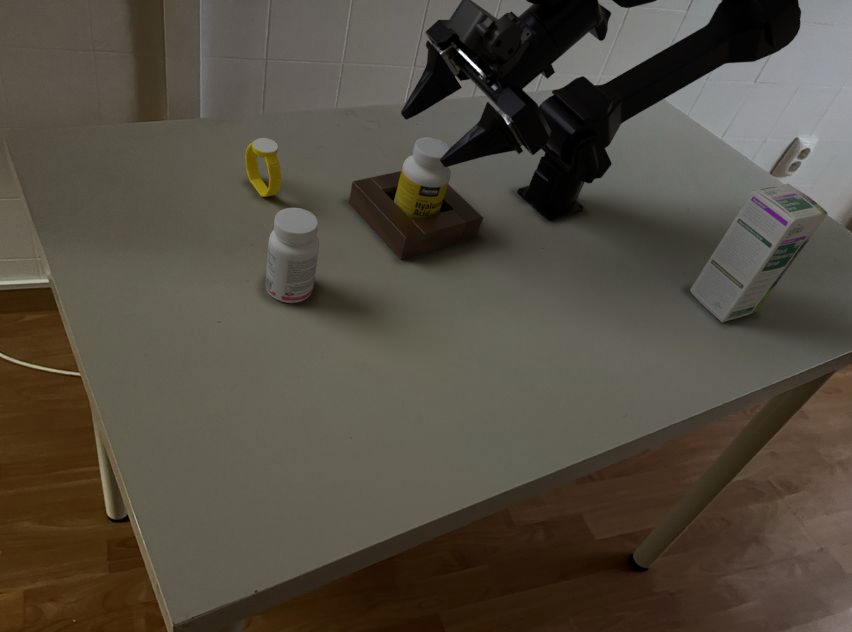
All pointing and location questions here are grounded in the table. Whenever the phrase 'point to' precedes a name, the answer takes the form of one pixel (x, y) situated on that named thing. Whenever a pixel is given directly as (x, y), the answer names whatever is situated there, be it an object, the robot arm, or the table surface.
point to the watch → (268, 151)
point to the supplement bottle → (423, 179)
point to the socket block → (418, 234)
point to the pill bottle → (292, 255)
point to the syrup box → (757, 251)
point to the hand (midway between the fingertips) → (422, 139)
